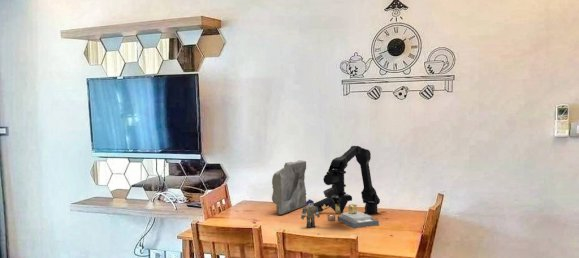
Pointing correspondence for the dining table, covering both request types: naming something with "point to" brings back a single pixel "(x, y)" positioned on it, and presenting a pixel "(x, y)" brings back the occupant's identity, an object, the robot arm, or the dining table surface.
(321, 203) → the handgun
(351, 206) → the brass short cylinder
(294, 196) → the fossil
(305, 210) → the toy
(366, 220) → the scale
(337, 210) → the gold cylinder
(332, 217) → the brown short cylinder
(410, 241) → the dining table surface
